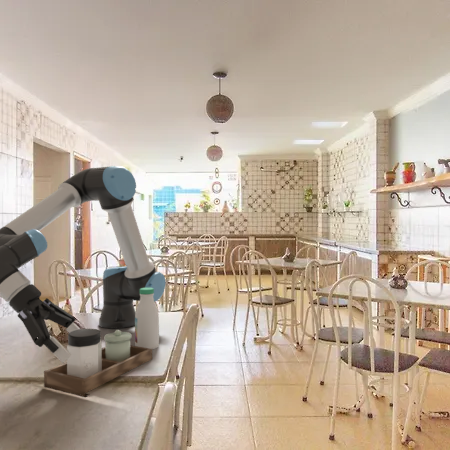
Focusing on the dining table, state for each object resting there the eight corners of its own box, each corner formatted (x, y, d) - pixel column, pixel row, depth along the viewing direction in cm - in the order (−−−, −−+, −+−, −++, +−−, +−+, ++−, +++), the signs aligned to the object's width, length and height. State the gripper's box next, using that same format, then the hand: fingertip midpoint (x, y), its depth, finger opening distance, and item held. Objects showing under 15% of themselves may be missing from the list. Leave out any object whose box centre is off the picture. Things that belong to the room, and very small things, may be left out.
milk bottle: (163, 347, 140) (163, 287, 140) (150, 354, 133) (149, 291, 133) (144, 344, 144) (144, 285, 143) (130, 350, 137) (129, 289, 136)
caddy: (115, 355, 132) (115, 342, 132) (152, 362, 126) (152, 348, 126) (44, 386, 108) (44, 371, 108) (85, 397, 102) (84, 380, 102)
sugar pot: (116, 356, 128) (116, 325, 128) (136, 360, 125) (136, 328, 124) (98, 364, 121) (98, 331, 121) (119, 369, 118) (119, 334, 118)
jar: (71, 386, 106) (70, 339, 105) (63, 376, 112) (63, 331, 112) (106, 378, 111) (106, 333, 110) (97, 369, 117) (96, 326, 117)
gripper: (32, 294, 123) (83, 345, 124) (-18, 314, 98) (46, 378, 99) (50, 276, 123) (101, 327, 123) (4, 291, 98) (69, 356, 98)
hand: (77, 350), depth 111 cm, fingers open, 13 cm apart
